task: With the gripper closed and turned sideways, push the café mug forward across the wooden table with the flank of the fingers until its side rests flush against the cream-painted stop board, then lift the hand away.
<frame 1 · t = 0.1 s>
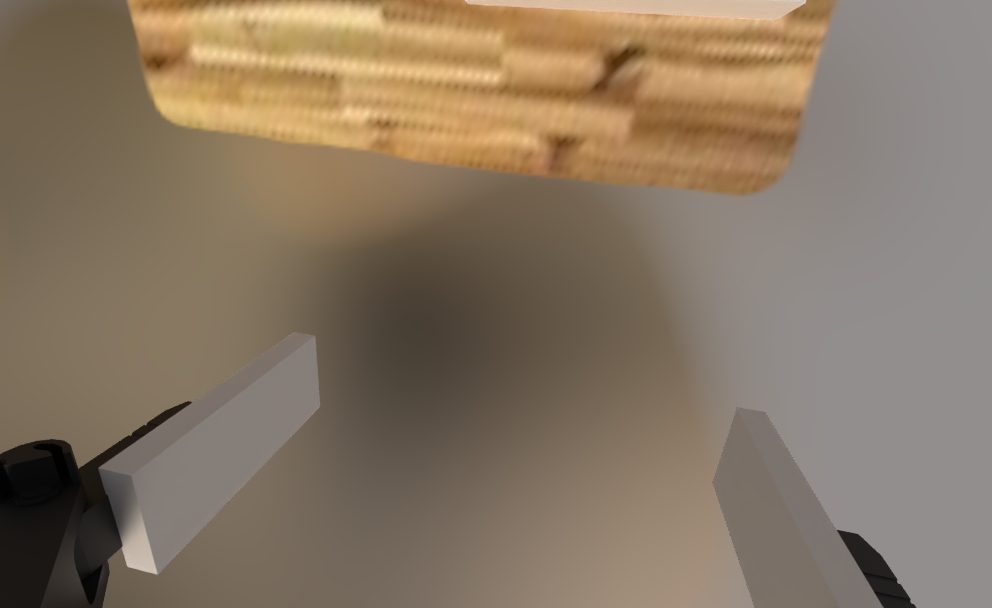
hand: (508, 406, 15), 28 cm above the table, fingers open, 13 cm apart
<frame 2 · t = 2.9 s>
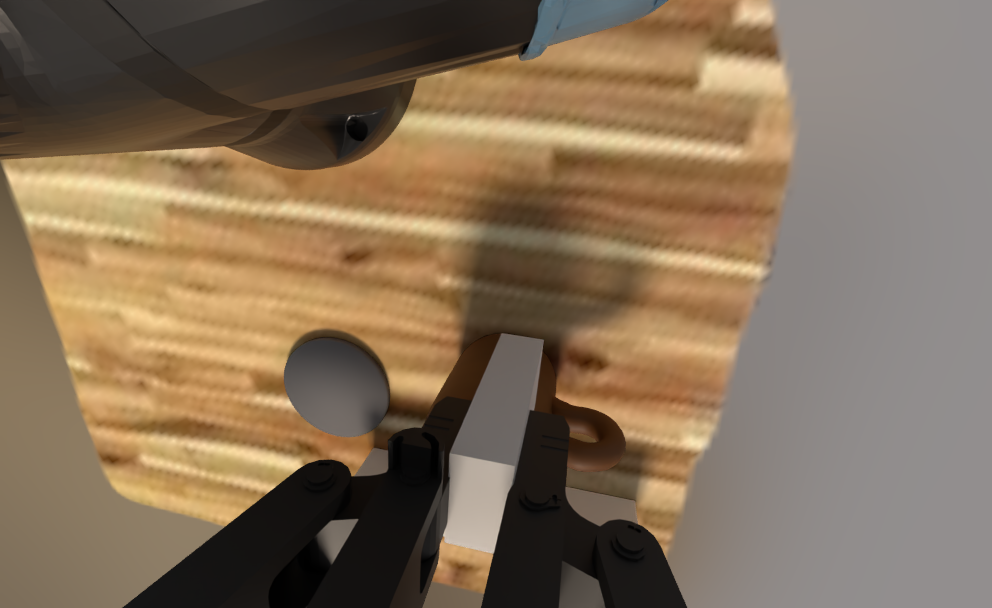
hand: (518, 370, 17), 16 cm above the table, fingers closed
stop board: (497, 484, 39), on the table
mug: (536, 376, 35), on the table
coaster: (338, 386, 38), on the table
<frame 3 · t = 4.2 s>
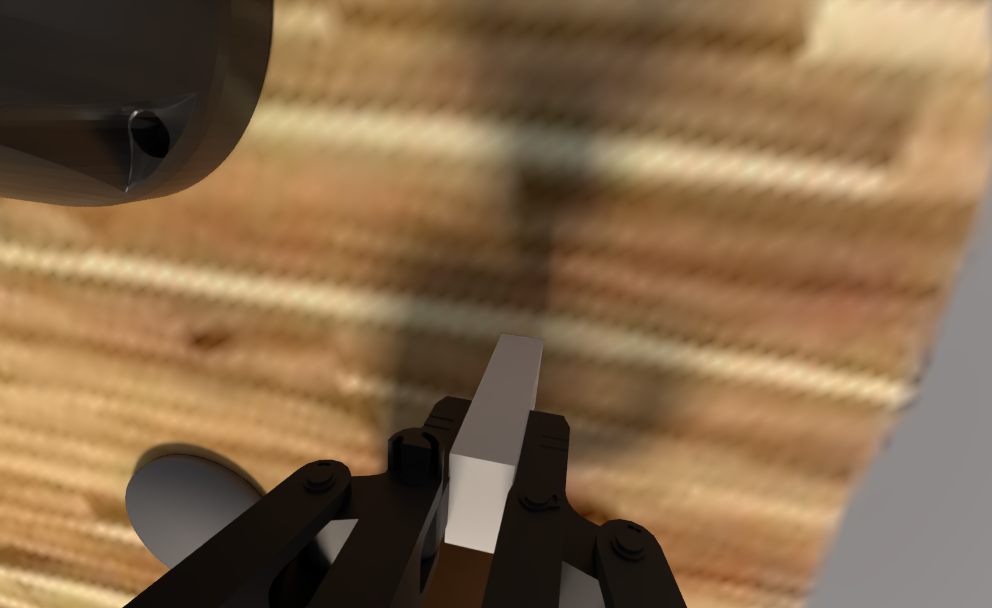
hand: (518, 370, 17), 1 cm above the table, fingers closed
mug: (503, 527, 22), on the table
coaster: (208, 522, 25), on the table
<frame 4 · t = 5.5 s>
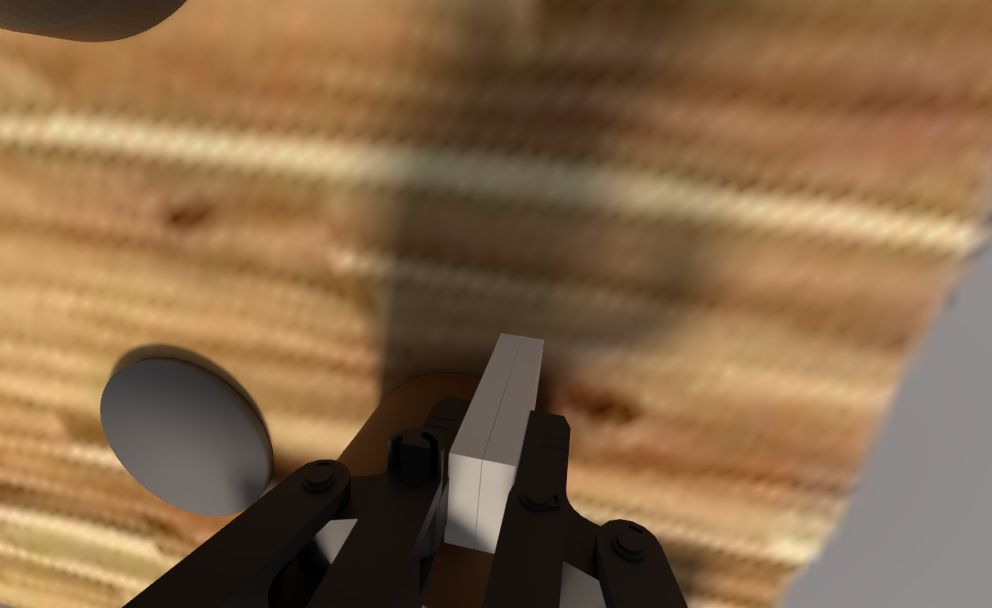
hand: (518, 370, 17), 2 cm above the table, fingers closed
mug: (510, 443, 20), on the table, touching gripper
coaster: (191, 437, 23), on the table
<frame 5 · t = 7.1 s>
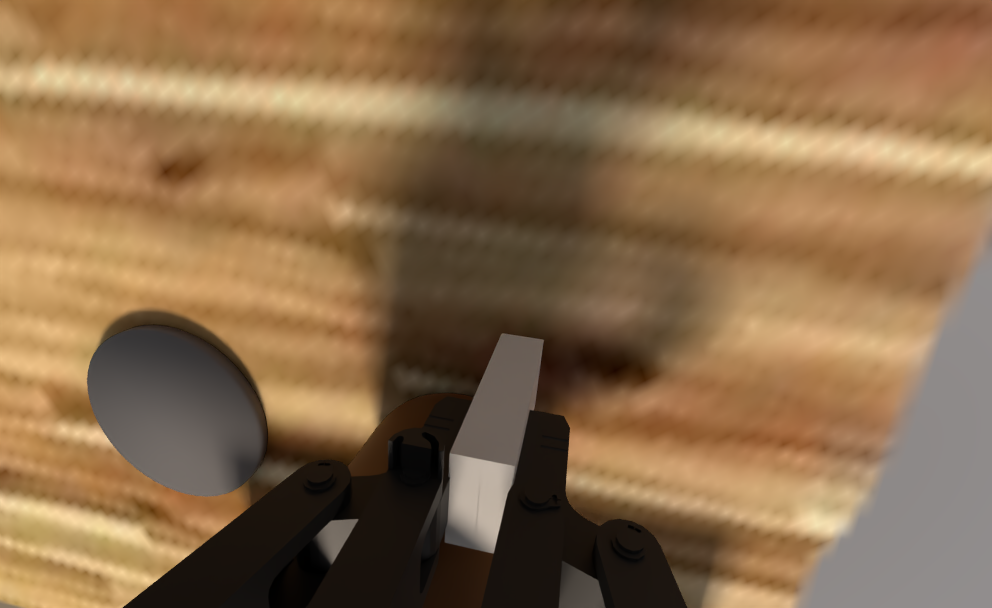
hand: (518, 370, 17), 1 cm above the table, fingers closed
mug: (510, 463, 20), on the table
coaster: (182, 411, 22), on the table
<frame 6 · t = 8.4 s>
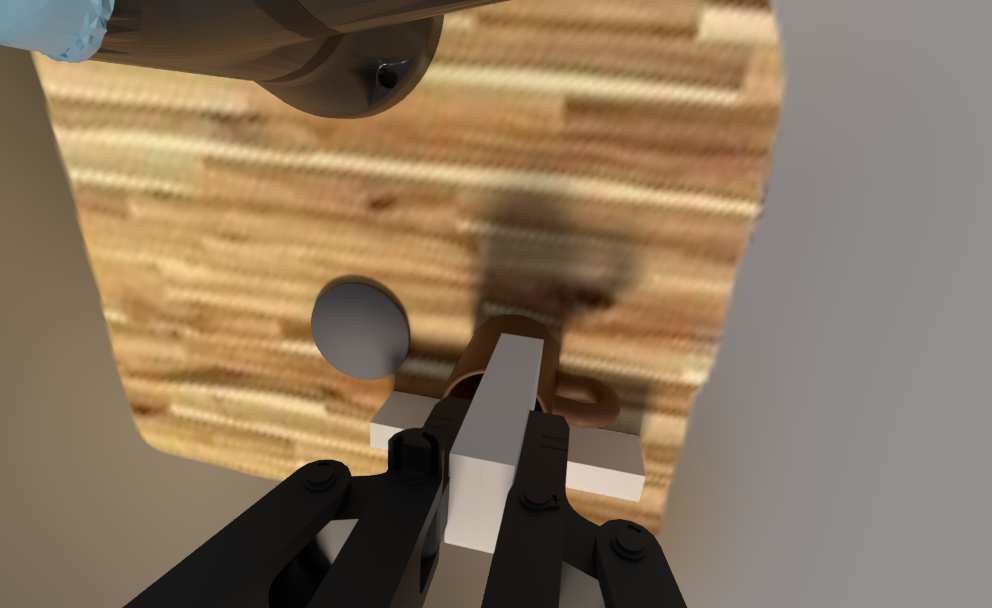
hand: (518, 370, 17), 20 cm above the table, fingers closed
stop board: (510, 424, 42), on the table
mug: (541, 353, 39), on the table
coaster: (361, 331, 41), on the table
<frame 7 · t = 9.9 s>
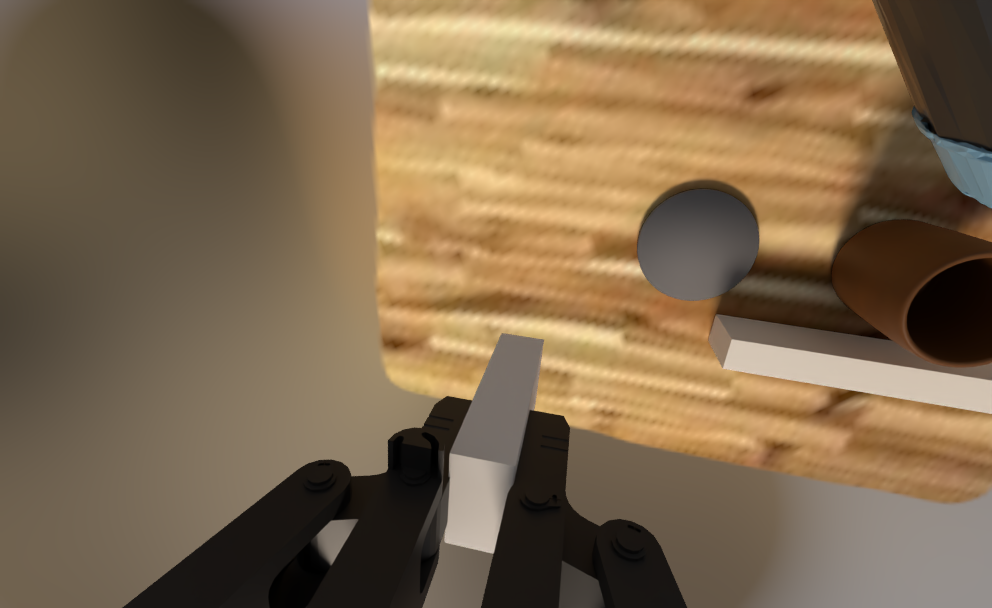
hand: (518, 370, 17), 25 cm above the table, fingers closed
stop board: (852, 349, 38), on the table
mug: (915, 266, 35), on the table
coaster: (695, 245, 37), on the table
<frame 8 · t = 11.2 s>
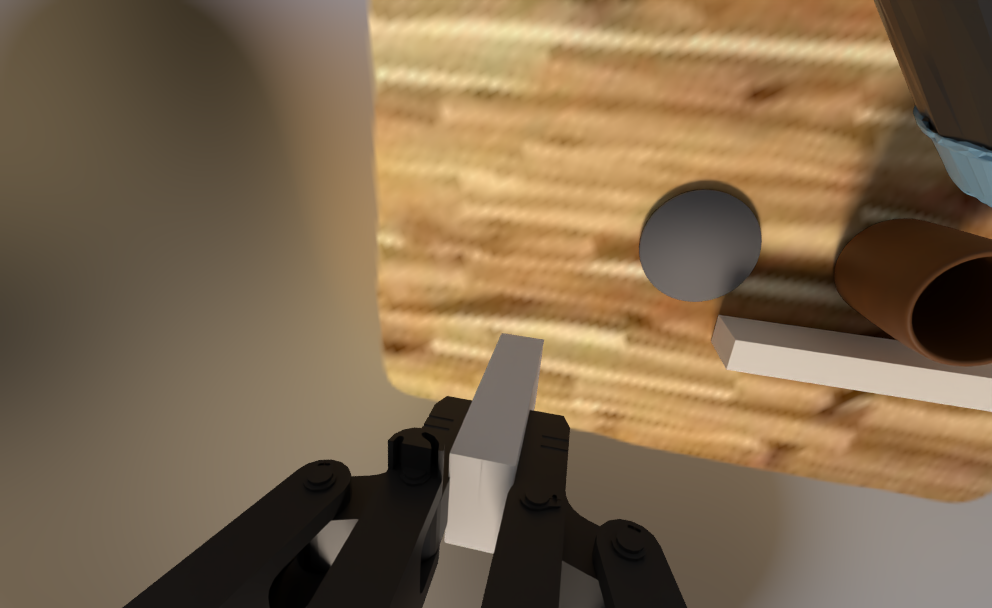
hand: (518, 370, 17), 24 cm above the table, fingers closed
stop board: (856, 349, 38), on the table
mug: (918, 265, 35), on the table
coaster: (697, 246, 37), on the table
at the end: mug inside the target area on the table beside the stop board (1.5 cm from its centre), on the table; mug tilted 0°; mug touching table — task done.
